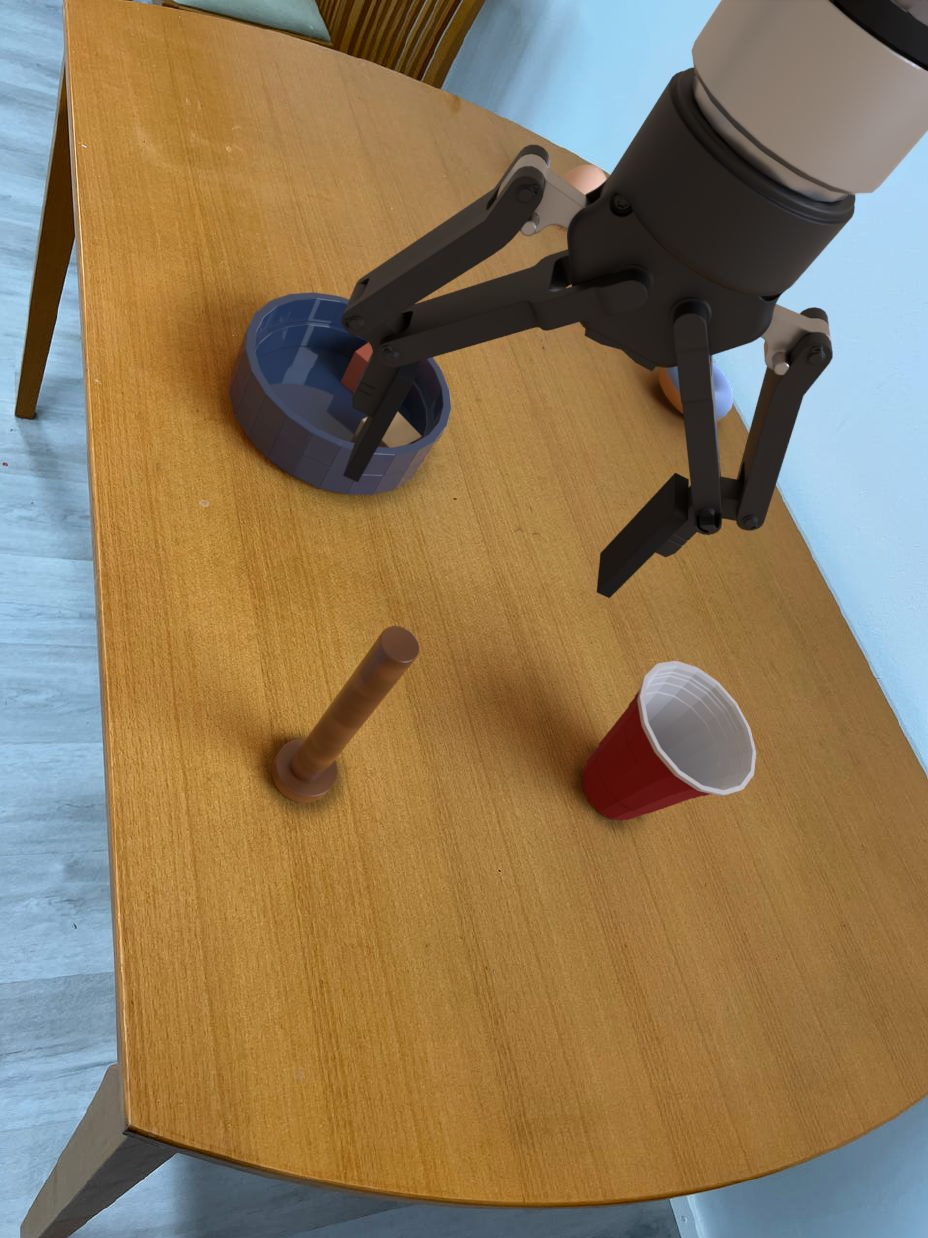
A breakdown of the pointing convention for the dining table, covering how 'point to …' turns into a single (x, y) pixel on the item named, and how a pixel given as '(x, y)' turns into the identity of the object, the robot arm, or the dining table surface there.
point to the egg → (585, 178)
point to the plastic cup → (670, 746)
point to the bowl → (323, 397)
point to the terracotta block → (356, 367)
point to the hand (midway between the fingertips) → (484, 520)
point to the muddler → (343, 718)
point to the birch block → (395, 433)
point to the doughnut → (721, 384)
